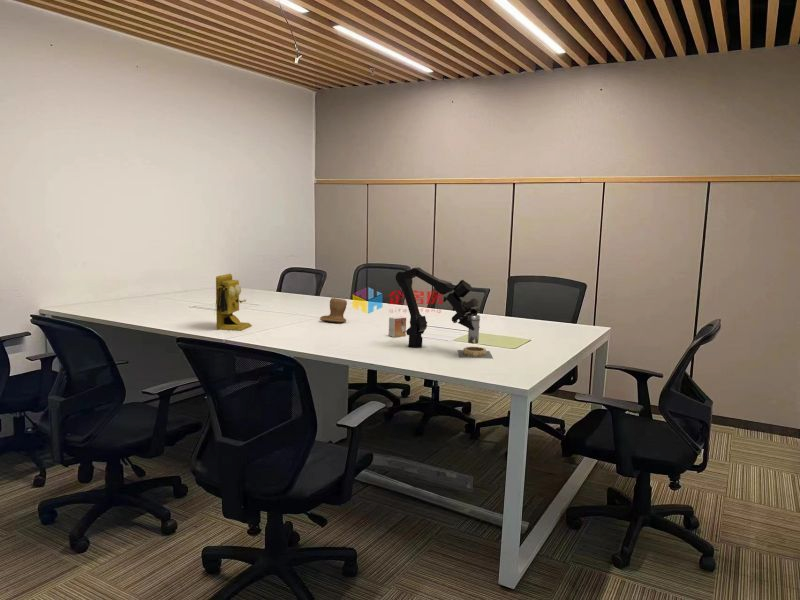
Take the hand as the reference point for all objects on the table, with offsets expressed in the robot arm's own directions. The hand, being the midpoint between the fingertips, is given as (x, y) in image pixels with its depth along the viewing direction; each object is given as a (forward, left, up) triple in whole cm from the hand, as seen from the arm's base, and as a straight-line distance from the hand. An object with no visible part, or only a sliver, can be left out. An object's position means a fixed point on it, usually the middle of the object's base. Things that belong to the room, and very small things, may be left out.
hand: (476, 329), depth 282 cm
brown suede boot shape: (-79, +82, -14) cm, 114 cm away
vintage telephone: (-132, +51, -14) cm, 142 cm away
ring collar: (0, +3, -13) cm, 13 cm away
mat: (0, +3, -13) cm, 14 cm away
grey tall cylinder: (-1, +1, -7) cm, 7 cm away
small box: (-39, +44, -14) cm, 60 cm away
